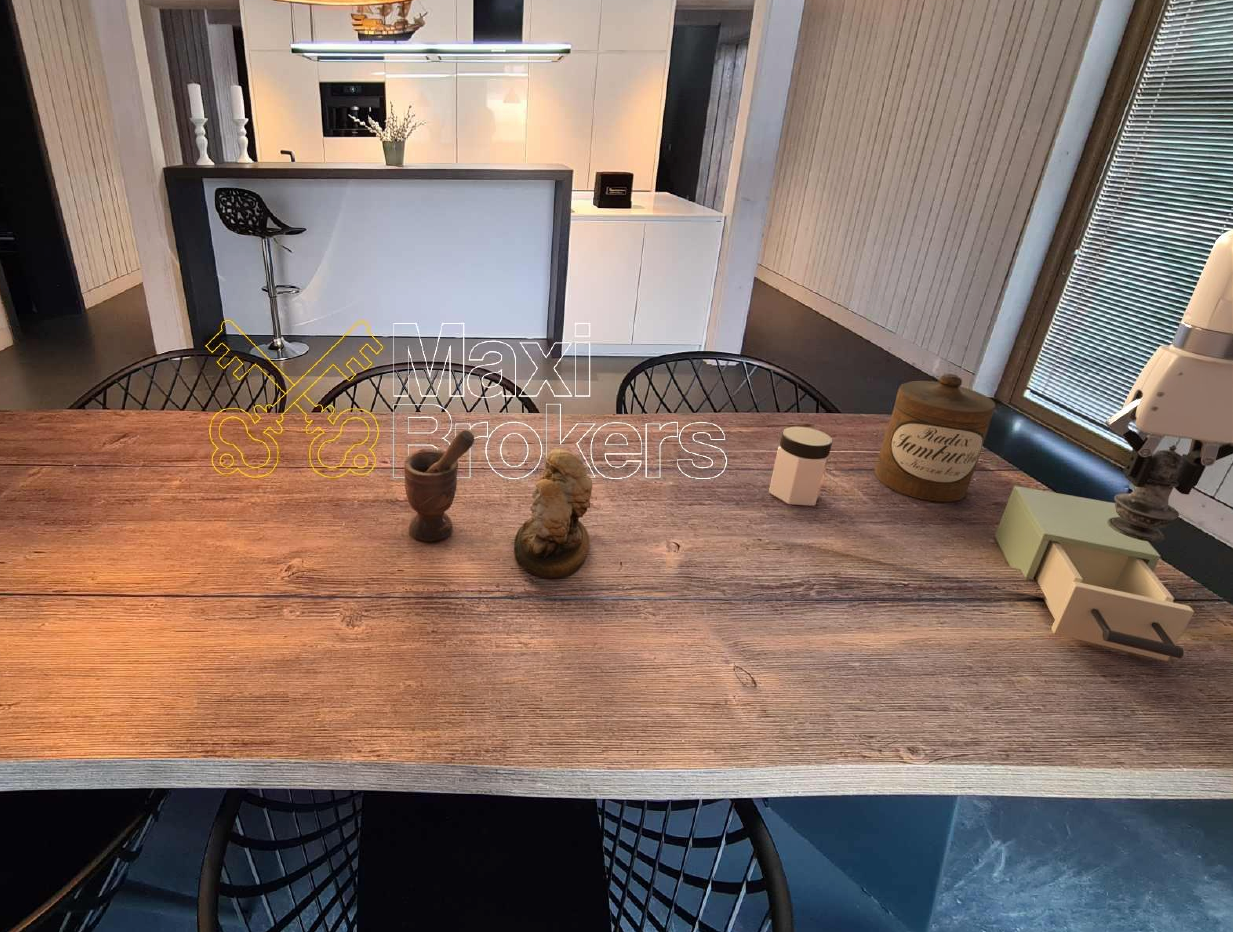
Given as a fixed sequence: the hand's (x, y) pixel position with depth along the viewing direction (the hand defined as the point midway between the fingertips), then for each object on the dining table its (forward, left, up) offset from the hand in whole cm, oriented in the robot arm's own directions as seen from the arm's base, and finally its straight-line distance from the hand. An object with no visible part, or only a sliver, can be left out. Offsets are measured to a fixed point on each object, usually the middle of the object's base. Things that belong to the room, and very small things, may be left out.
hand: (1156, 484), depth 82 cm
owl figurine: (+72, +12, -23) cm, 77 cm away
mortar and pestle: (+90, +16, -23) cm, 94 cm away
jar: (+36, -22, -23) cm, 48 cm away
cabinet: (-1, -14, -23) cm, 27 cm away
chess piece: (0, 0, -7) cm, 7 cm away
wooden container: (+14, -37, -23) cm, 46 cm away
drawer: (-1, 0, -22) cm, 22 cm away
